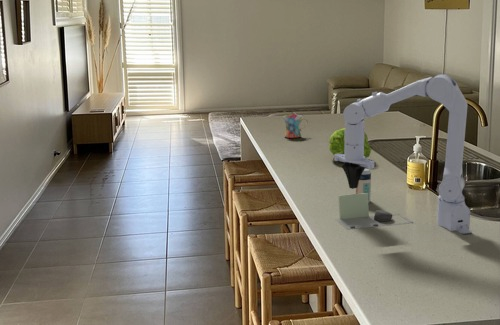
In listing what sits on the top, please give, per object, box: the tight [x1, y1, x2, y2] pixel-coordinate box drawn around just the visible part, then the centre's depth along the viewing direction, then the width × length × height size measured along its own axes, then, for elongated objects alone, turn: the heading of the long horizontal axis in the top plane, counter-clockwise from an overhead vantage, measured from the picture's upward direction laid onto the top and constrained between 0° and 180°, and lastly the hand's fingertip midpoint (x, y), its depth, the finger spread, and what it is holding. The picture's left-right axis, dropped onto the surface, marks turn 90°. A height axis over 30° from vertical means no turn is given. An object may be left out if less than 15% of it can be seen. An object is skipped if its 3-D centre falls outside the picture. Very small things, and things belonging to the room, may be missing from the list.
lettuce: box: [328, 127, 372, 159], centre depth 275 cm, size 17×24×14 cm
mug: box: [283, 114, 308, 139], centre depth 323 cm, size 12×9×11 cm
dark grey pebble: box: [373, 209, 393, 223], centre depth 191 cm, size 5×5×2 cm
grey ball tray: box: [336, 213, 414, 230], centre depth 190 cm, size 9×20×2 cm, turn 103°
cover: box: [338, 193, 370, 219], centre depth 194 cm, size 7×9×1 cm
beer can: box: [355, 167, 372, 204], centre depth 209 cm, size 5×5×12 cm
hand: (353, 187), depth 196 cm, fingers closed
